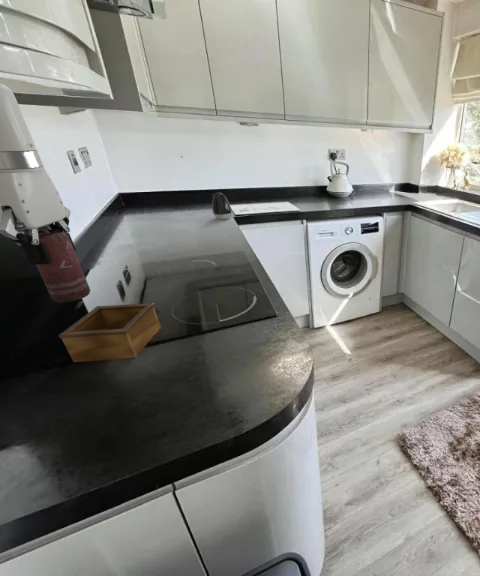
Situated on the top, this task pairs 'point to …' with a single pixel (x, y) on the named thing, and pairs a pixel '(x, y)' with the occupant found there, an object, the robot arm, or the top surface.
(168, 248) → the top surface
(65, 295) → the can
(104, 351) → the wooden open box
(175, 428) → the top surface
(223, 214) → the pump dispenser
